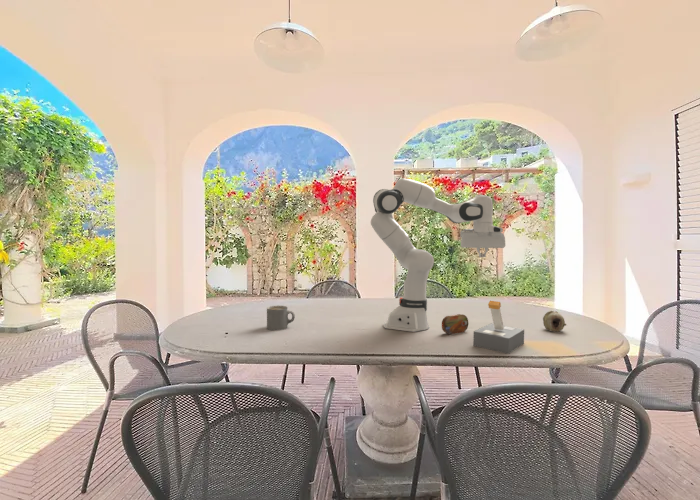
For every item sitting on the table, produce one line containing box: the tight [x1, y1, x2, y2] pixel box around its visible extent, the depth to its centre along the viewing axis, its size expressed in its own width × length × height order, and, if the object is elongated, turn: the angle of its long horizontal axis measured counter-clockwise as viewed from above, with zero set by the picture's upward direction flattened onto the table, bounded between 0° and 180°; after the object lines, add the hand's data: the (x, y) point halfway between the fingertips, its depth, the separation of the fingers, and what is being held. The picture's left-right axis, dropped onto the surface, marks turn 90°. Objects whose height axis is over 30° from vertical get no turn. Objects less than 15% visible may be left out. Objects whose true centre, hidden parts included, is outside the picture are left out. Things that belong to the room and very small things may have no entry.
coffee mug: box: [266, 305, 296, 331], centre depth 167 cm, size 13×10×10 cm
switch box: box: [472, 322, 525, 354], centre depth 142 cm, size 18×14×6 cm
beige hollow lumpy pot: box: [542, 310, 567, 333], centre depth 164 cm, size 9×8×10 cm
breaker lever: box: [487, 300, 505, 330], centre depth 139 cm, size 2×4×13 cm, turn 45°
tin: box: [441, 313, 469, 335], centre depth 160 cm, size 15×3×8 cm, turn 118°
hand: (482, 257), depth 166 cm, fingers closed
